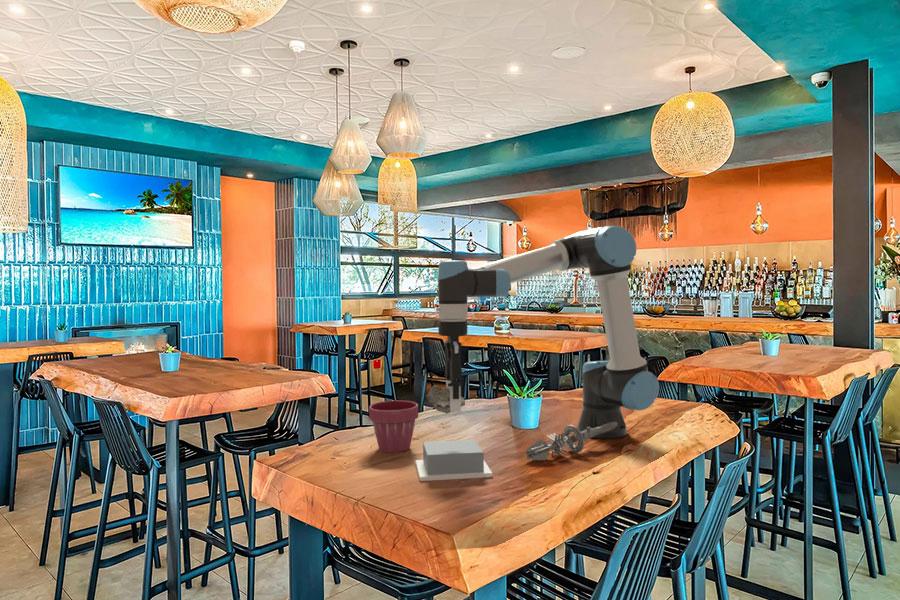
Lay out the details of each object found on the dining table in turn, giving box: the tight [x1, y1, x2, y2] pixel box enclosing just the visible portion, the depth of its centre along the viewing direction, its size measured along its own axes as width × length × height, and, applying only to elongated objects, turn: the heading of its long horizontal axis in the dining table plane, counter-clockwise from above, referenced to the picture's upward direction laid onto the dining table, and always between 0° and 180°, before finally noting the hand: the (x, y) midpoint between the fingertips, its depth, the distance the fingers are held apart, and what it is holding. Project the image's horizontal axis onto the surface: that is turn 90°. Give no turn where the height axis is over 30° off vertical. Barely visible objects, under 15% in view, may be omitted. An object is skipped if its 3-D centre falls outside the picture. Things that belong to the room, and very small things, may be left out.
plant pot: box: [368, 399, 419, 453], centre depth 172 cm, size 14×14×13 cm
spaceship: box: [524, 422, 618, 461], centre depth 165 cm, size 8×35×8 cm
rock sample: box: [425, 385, 466, 414], centre depth 152 cm, size 11×8×9 cm
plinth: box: [415, 439, 494, 482], centre depth 151 cm, size 18×14×6 cm
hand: (453, 407), depth 153 cm, fingers closed on rock sample, 8 cm apart
